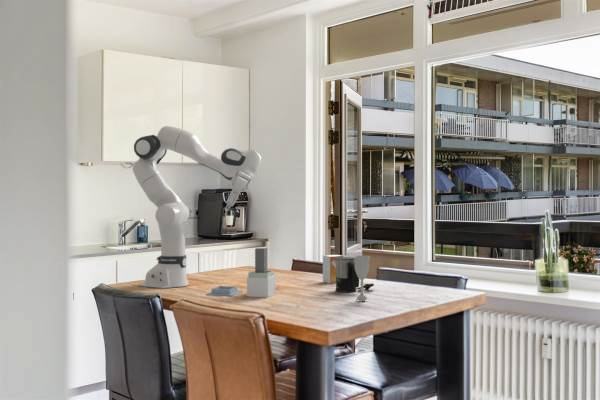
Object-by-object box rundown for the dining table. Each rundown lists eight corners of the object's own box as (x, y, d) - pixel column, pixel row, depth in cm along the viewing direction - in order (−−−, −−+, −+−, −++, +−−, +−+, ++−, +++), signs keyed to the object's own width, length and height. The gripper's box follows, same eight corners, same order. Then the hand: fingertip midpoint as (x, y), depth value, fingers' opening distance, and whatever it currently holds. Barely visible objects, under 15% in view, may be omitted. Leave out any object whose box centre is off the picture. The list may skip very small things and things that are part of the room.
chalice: (365, 303, 250) (365, 257, 249) (350, 301, 253) (350, 256, 253) (373, 300, 256) (373, 256, 255) (358, 298, 259) (358, 255, 259)
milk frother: (330, 291, 279) (330, 257, 279) (352, 287, 290) (352, 255, 290) (356, 294, 269) (356, 260, 269) (378, 290, 281) (378, 257, 280)
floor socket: (206, 294, 270) (206, 289, 270) (217, 290, 281) (217, 285, 281) (232, 296, 266) (232, 290, 266) (242, 291, 278) (242, 286, 278)
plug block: (255, 276, 267) (255, 248, 267) (258, 275, 271) (258, 247, 271) (264, 277, 266) (264, 248, 266) (267, 275, 270) (267, 248, 270)
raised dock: (246, 296, 266) (246, 272, 265) (254, 292, 275) (254, 269, 275) (268, 297, 263) (268, 273, 263) (275, 293, 272) (275, 270, 272)
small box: (330, 283, 300) (330, 256, 300) (322, 282, 306) (322, 255, 305) (343, 282, 305) (343, 255, 304) (335, 280, 310) (335, 254, 310)
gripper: (231, 186, 296) (218, 210, 290) (239, 169, 278) (225, 195, 272) (243, 192, 297) (230, 217, 291) (251, 176, 278) (238, 202, 272)
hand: (228, 206), depth 281 cm, fingers open, 8 cm apart
